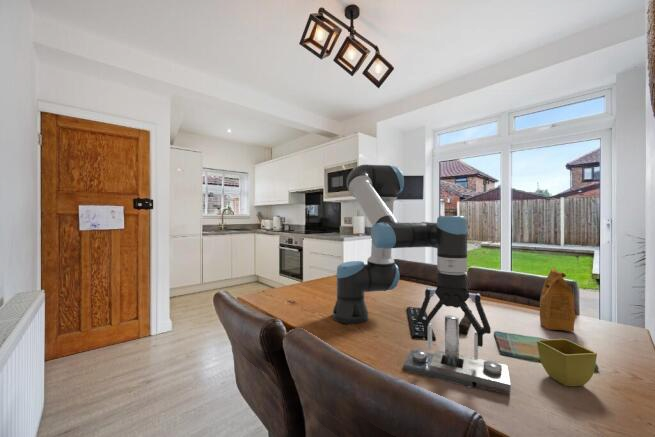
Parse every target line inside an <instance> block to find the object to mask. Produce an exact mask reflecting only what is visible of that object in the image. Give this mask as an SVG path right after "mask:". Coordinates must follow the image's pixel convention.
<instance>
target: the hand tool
mask: <svg viewBox="0 0 655 437" xmlns="http://www.w3.org/2000/svg"><path fill="white" fill-rule="evenodd" d="M470 311H471V312H472V310H471V309H470ZM472 313H473V312H472ZM463 314H464V315H463V317H462V319H460V321H459V335H463V336H467V335H468V334H469V333H468V331H469V329H470V326H471V325H472V324H471V322H470V321H469V319H468V318H467V316H466V315H465V313H463Z"/></svg>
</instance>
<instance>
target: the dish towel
mask: <svg viewBox="0 0 655 437" xmlns="http://www.w3.org/2000/svg"><path fill="white" fill-rule="evenodd" d="M493 337H494V339H495V342H496V346H497V349H498V351H499V354H500V356H503V357H509V358H516V359H521V360H527V361H528V360H529V361H532V362H539V363H541V361H540V357H539V352H538V346H537V340H550V339H549V338H544V337H537V336H531V335H530V336H529V335H522V334H518V333H511V332H502V331H499V330H495V331H494V332H493ZM571 342H573V343H575V344H577V343H576V342H575V341H574V340H571ZM599 369H600V368H599V366H598V364H597V363H596V364H595V370H594V372H595V371H596V372H597V371H599Z"/></svg>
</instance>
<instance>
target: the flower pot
mask: <svg viewBox="0 0 655 437" xmlns="http://www.w3.org/2000/svg"><path fill="white" fill-rule="evenodd" d="M571 341H572V340H571ZM571 341H570V340H568V339H565V338H556V339H555V338H554V339H551V338H550V339H549V340H537V346H538V352H539V357H540V361H541V362H540V363H541V365H542V367H543V369H544V370H545V372H546V373H547V375H548V376H549V377H550V378H552V379H553V380H555V381H557V382H558V383H560V384H561V385H562V386H565V387H576V386H577V387H579V386H584V385H586V384H587V383H588V382H590V380H591V379H592V378H593V376H594V374H595V371H594V370H595V364H597V357H598V353H597V352H595V351H593V350H590V349H588V348H586V347H584V346H581V345H579V344H578V343H576V342H575V343H576V344H575V343H573V342H571Z"/></svg>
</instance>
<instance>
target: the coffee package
mask: <svg viewBox="0 0 655 437" xmlns="http://www.w3.org/2000/svg"><path fill="white" fill-rule="evenodd" d="M566 277H567V274H565V273H563V272H559V271H558V270H557V269H556V268H554V267H553V268H551V269H550V272H549V273H548V275H547V277H546V278H545V280H544V283H543V286H542V291H541V293H540V297H539V321H540V324H541V326H542V327H543V328H545V329H547V330H549V331H563V332H575V321H576V313H575V293H574V292H573V290H572V288H571V287H570V286H569V285H568V283H567V281H565V278H566Z"/></svg>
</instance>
